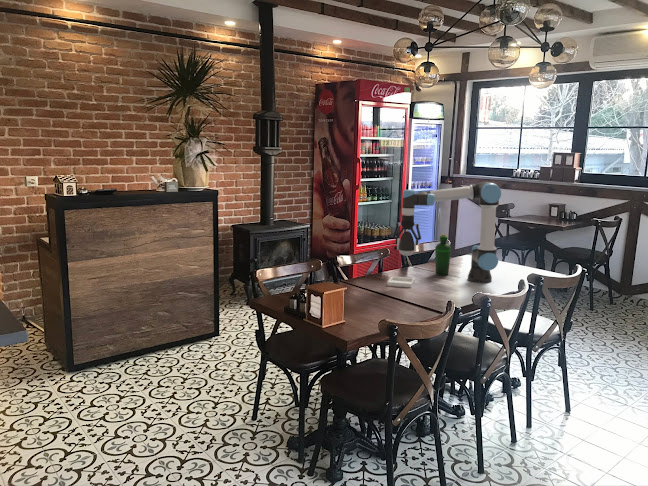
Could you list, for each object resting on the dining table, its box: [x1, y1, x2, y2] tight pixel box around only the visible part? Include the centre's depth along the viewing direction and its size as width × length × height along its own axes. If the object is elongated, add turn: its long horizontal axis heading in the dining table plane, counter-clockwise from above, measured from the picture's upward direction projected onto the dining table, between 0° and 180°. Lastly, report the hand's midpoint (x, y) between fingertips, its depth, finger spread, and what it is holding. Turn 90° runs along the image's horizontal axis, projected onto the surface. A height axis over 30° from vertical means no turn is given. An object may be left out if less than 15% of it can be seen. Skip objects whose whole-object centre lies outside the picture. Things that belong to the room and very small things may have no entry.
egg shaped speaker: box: [398, 230, 415, 257], centre depth 329 cm, size 10×10×15 cm
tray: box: [386, 275, 416, 289], centre depth 335 cm, size 15×15×2 cm
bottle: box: [434, 233, 452, 277], centre depth 357 cm, size 11×11×28 cm
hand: (406, 249), depth 330 cm, fingers closed on egg shaped speaker, 10 cm apart
